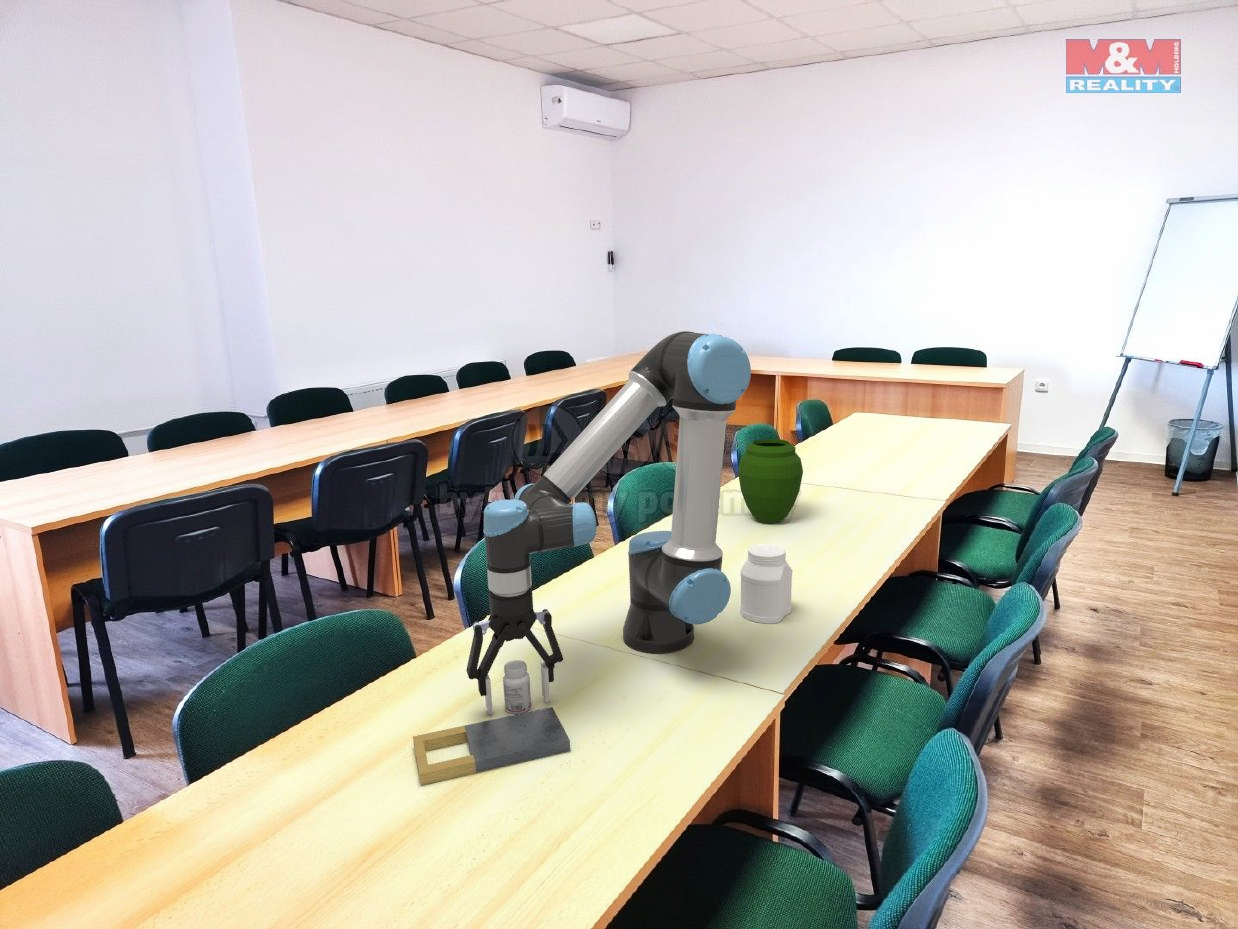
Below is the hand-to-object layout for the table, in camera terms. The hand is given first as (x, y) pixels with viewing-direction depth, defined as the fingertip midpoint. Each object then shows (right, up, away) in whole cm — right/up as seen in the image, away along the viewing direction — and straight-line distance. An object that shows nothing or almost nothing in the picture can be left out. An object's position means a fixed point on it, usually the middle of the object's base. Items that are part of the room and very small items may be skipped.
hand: (518, 704), depth 144 cm
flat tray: (-3, -4, -12) cm, 13 cm away
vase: (+65, +26, +101) cm, 123 cm away
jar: (+51, +10, +36) cm, 64 cm away
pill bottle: (0, -1, 0) cm, 1 cm away
